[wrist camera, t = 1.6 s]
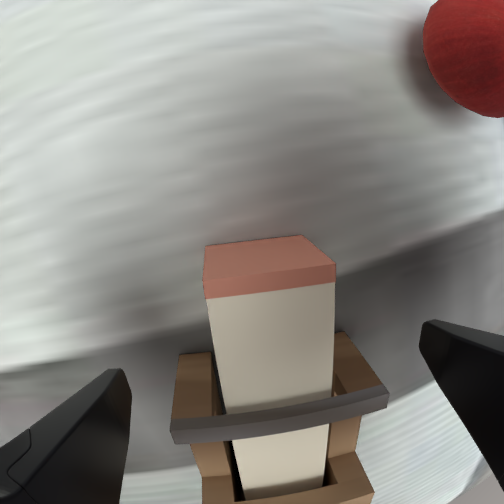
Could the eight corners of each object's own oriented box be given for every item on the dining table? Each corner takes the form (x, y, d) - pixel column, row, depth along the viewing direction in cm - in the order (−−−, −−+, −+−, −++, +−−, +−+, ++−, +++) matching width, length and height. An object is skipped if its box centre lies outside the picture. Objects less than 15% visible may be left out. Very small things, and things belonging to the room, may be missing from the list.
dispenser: (330, 476, 19) (354, 539, 13) (220, 494, 18) (226, 562, 12) (344, 331, 15) (401, 409, 9) (179, 354, 14) (167, 450, 9)
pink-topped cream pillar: (304, 452, 17) (320, 500, 14) (241, 462, 17) (248, 513, 13) (302, 234, 14) (335, 263, 10) (205, 246, 13) (202, 280, 9)
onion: (488, 86, 13) (599, 75, 5) (441, 143, 13) (576, 150, 6) (427, 1, 11) (529, -50, 3) (368, 46, 12) (488, -21, 4)
